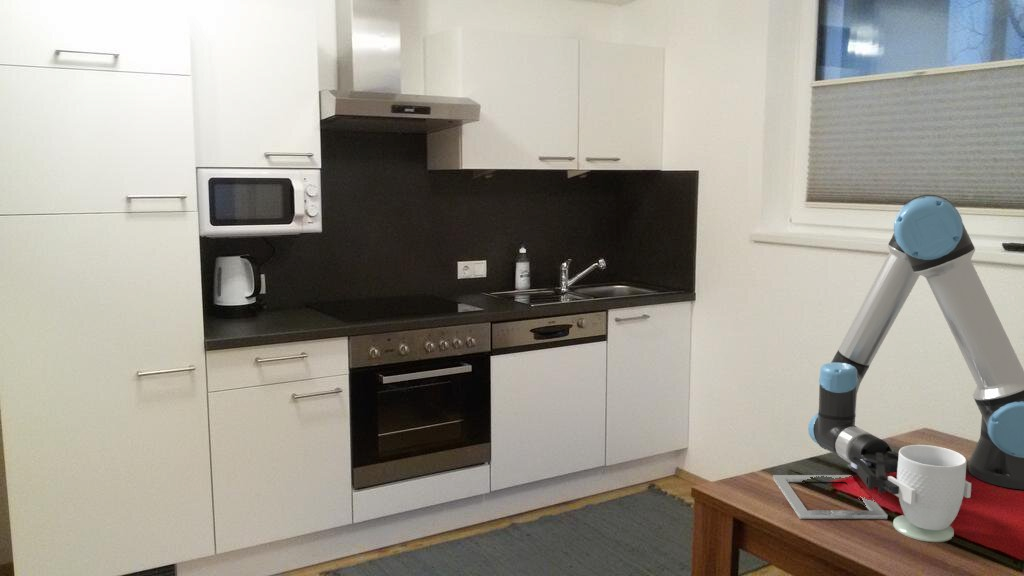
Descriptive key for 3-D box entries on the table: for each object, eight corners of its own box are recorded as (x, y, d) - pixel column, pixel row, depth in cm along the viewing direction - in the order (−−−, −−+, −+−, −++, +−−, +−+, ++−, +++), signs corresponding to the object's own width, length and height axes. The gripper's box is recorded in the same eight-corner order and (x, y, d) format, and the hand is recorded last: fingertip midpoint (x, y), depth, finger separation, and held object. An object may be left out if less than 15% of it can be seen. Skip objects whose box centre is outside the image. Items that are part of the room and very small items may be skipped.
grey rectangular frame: (850, 478, 170) (850, 475, 170) (887, 519, 151) (887, 515, 151) (772, 478, 171) (773, 475, 171) (799, 518, 152) (800, 514, 152)
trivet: (938, 517, 151) (938, 514, 151) (964, 542, 141) (964, 539, 141) (884, 517, 152) (884, 514, 152) (907, 542, 142) (907, 538, 142)
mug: (871, 502, 154) (875, 438, 152) (924, 499, 155) (928, 435, 153) (917, 538, 139) (922, 468, 137) (975, 534, 140) (981, 464, 138)
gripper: (912, 462, 166) (995, 506, 144) (812, 473, 161) (882, 520, 140) (914, 428, 164) (998, 467, 143) (813, 438, 160) (885, 480, 139)
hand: (941, 494), depth 141 cm, fingers closed on mug, 11 cm apart
